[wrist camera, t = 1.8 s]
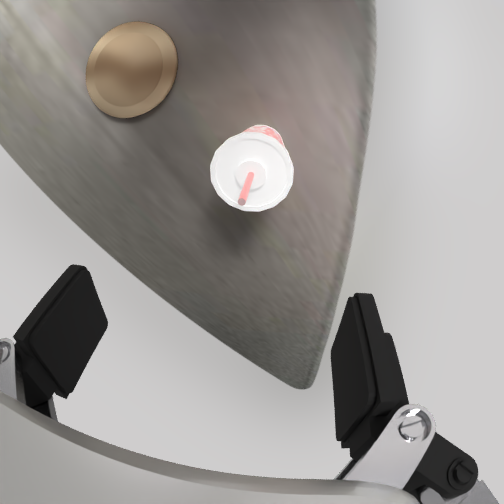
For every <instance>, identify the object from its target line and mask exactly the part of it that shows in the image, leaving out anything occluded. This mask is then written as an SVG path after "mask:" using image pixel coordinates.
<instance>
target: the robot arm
mask: <svg viewBox="0 0 504 504" xmlns="http://www.w3.org/2000/svg"><path fill="white" fill-rule="evenodd" d="M107 326H108V321H107V318H106V315H105V313H104V310H103V308H102V305H101V302H100V300H99V297H98V294H97V292H96V289H95V286H94V283H93V280H92V277H91V275H90V272H89V271H88V270H87V268H86V267H85V266H80V265H70V266H69V267H68V269H67V270H66V271H65V272H64V273H63V274H62V275H61V276H60V278H59V279H58V280H57V281H56V282H55V283H54V285H53V286H52V287H51V288H50V289H49V291H48V292H47V293H46V294H45V295H44V297H43V298H42V299H41V300H40V302H39V303H38V304H37V305H36V307H35V308H34V309H33V310H32V312H31V313H30V315H29V316H28V317H27V318H26V320H25V321H24V322H23V324H22V325H21V326H20V328H19V329H18V330H17V332H16V333H15V335H14V336H13V337H14V339H15V340H16V344H15V345H14V343H13V342H12V340H10V339H7V338H3V339H0V504H499V503H498V501H497V500H496V498H495V497H494V496H493V494H492V493H491V491H490V490H489V489H488V487H487V486H486V484H485V483H484V482H483V481H482V480H481V481H478V479H477V477H478V467H477V464H476V462H475V460H474V459H473V458H472V457H471V456H469V455H468V454H466V453H465V452H463V451H462V450H461V449H459V448H458V447H456V446H454V445H453V444H452V443H450V442H449V441H447V440H446V439H445V438H443V437H442V436H440V435H439V434H437V433H436V432H435V431H436V423H435V420H434V417H433V415H432V414H431V412H430V411H429V410H427V409H426V408H425V407H423V406H421V405H418V404H409V401H408V397H407V392H406V388H405V384H404V379H403V375H402V372H401V367H400V364H399V360H398V356H397V352H396V349H395V346H394V342H393V339H392V336H391V335H390V333H384V331H383V327H382V324H381V320H380V317H379V313H378V310H377V306H376V303H375V300H374V297H373V295H372V294H367V293H355V294H354V296H353V297H349V298H348V301H347V304H346V307H345V310H344V313H343V316H342V320H341V323H340V326H339V329H338V332H337V335H336V338H335V341H334V343H333V346H332V349H331V366H332V378H333V390H334V407H335V426H336V439H337V441H341V447H342V448H350V457H352V459H351V460H350V461H349V463H348V464H347V465H346V466H345V467H344V468H343V470H342V471H341V472H340V473H339V474H338V475H337V476H336V477H335V478H334V480H321V479H320V480H319V479H286V478H269V477H258V476H247V475H239V474H231V473H224V472H217V471H211V470H205V469H200V468H195V467H189V466H185V465H180V464H176V463H172V462H168V461H164V460H160V459H156V458H153V457H149V456H146V455H142V454H139V453H136V452H132V451H129V450H126V449H123V448H120V447H117V446H115V445H112V444H109V443H106V442H103V441H101V440H98V439H96V438H93V437H91V436H88V435H86V434H84V433H81V432H79V431H76V430H74V429H72V428H70V427H68V426H65V425H63V424H61V423H59V422H58V420H57V416H56V411H55V407H54V402H53V397H52V395H53V393H54V392H55V393H56V395H58V396H61V397H63V398H65V399H67V397H68V395H69V393H72V392H73V390H74V388H75V386H76V384H77V382H78V380H79V378H80V376H81V375H82V373H83V371H84V369H85V367H86V365H87V363H88V361H89V359H90V358H91V356H92V354H93V352H94V350H95V349H96V347H97V345H98V343H99V341H100V340H101V338H102V336H103V334H104V332H105V331H106V329H107Z"/></svg>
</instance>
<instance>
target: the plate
mask: <svg viewBox="0 0 504 504" xmlns="http://www.w3.org/2000/svg"><path fill="white" fill-rule="evenodd" d="M177 69H178V56H177V51H176V48H175V45H174V43H173V41H172V39H171V38H170V37H169V35H168V34H167V33H166V32H165V31H164V30H162V29H161V28H159V27H157V26H155V25H153V24H149V23H146V22H129V23H125V24H121V25H119V26H117V27H115V28H113V29H112V30H110V31H109V32H107V33H106V34H105V35H104V36H103V37H102V38H101V39H100V40H99V41H98V43H97V44H96V45H95V47H94V48H93V50H92V52H91V54H90V57H89V59H88V63H87V67H86V85H87V90H88V92H89V95H90V97H91V99H92V101H93V102H94V104H95V105H96V106H97V107H98V108H99V109H100V110H102V111H103V112H104V113H106V114H108V115H110V116H113V117H117V118H130V117H135V116H138V115H141V114H144V113H146V112H148V111H150V110H152V109H153V108H155V107H156V106H157V105H158V104H159V103H160V102H161V101H162V100H163V99H164V98H165V97H166V96H167V94H168V93H169V91H170V89H171V88H172V86H173V83H174V81H175V78H176V74H177Z"/></svg>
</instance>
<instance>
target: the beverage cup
mask: <svg viewBox="0 0 504 504" xmlns="http://www.w3.org/2000/svg"><path fill="white" fill-rule="evenodd" d="M293 169H294V167H293V164H292V161H291V159H290V156H289V154H288V151H287V150H286V149H285V146H284V143H283V140H282V138H281V135H280V134H279V133H278V132H277V131H276V130H275V129H274V128H271V127H269V126H267V125H255V126H252V127H250V128H248V129H246V130H245V131H243V132H242V133H240V134H238V135H235V136H233V137H230V138H229V139H227V140H226V141H225V142H224V143H223V144H222V145H221V146H220V147H219V148H218V149H217V150H216V151H215V154H214V157H213V159H212V162H211V165H210V172H211V182H212V184H213V186H214V188H215V190H216V192H217V194H218V195H219V196H220V197H221V198H222V199H223V200H224V201H225V202H226V203H228V204H229V205H230V206H233V207H235V208H238V209H240V210H243V211H257V212H260V211H263V210H266V209H269V208H272V207H274V206H276V205H277V204H278V203H279V202H280V201H282V200H283V199H284V198H285V197H286V196H287V194H288V192H289V190H290V188H291V186H292V184H293Z"/></svg>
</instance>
